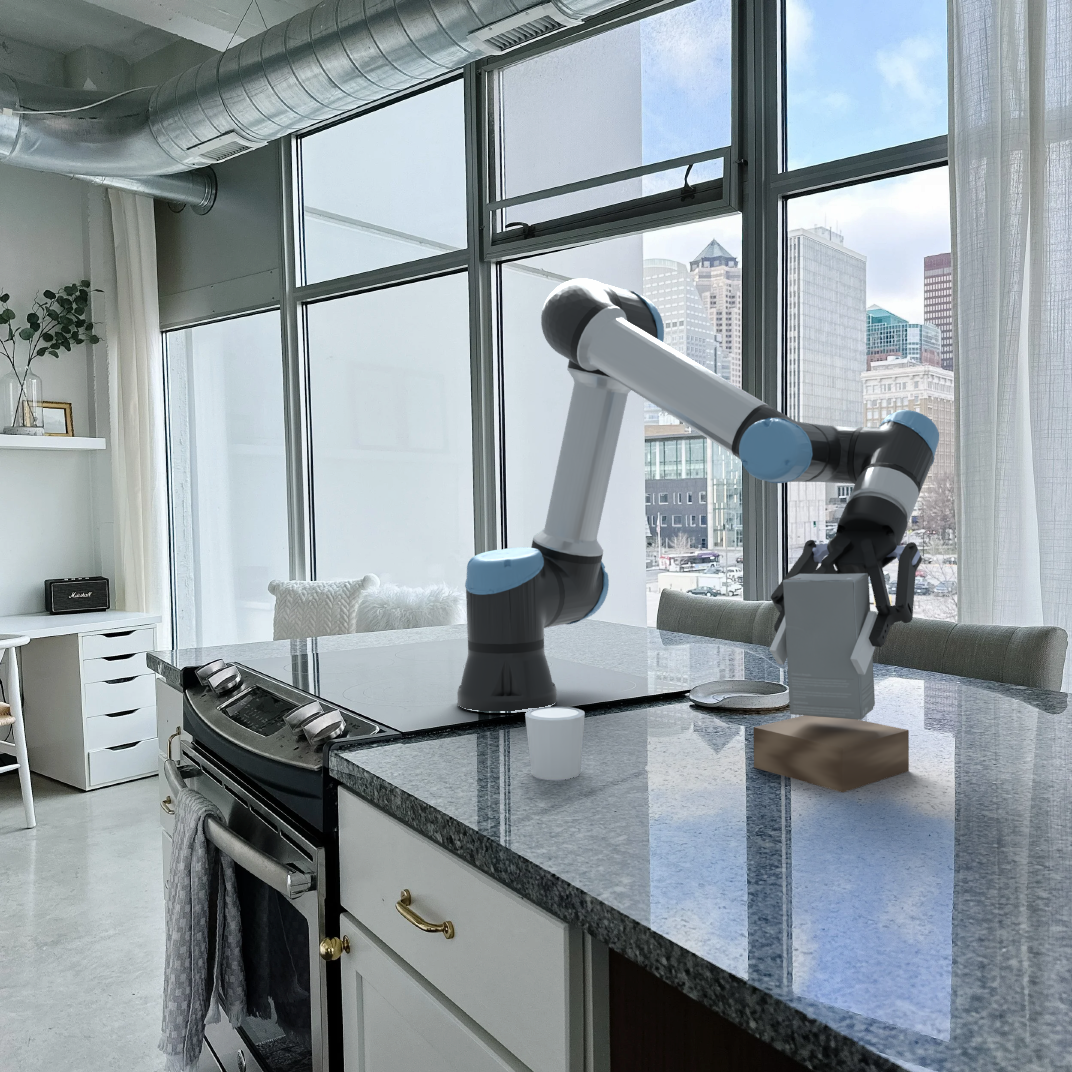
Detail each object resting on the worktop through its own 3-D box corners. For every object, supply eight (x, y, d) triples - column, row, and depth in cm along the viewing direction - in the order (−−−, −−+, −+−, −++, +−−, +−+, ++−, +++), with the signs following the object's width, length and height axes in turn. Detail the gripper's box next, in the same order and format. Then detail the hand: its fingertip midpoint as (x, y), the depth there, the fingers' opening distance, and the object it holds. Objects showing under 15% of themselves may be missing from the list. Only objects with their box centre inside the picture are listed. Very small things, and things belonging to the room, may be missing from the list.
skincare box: (875, 710, 109) (875, 572, 108) (859, 724, 103) (859, 577, 102) (801, 703, 113) (801, 570, 112) (782, 715, 107) (781, 575, 106)
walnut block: (753, 770, 109) (753, 727, 109) (819, 752, 116) (819, 711, 116) (842, 795, 100) (842, 748, 99) (908, 774, 107) (908, 730, 107)
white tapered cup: (581, 783, 105) (579, 720, 104) (520, 780, 106) (518, 718, 106) (590, 765, 111) (589, 706, 111) (532, 763, 113) (531, 704, 112)
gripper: (977, 536, 111) (923, 694, 100) (805, 533, 126) (742, 671, 115) (960, 490, 107) (903, 651, 96) (785, 493, 121) (718, 632, 111)
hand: (815, 661), depth 105 cm, fingers closed on skincare box, 9 cm apart
